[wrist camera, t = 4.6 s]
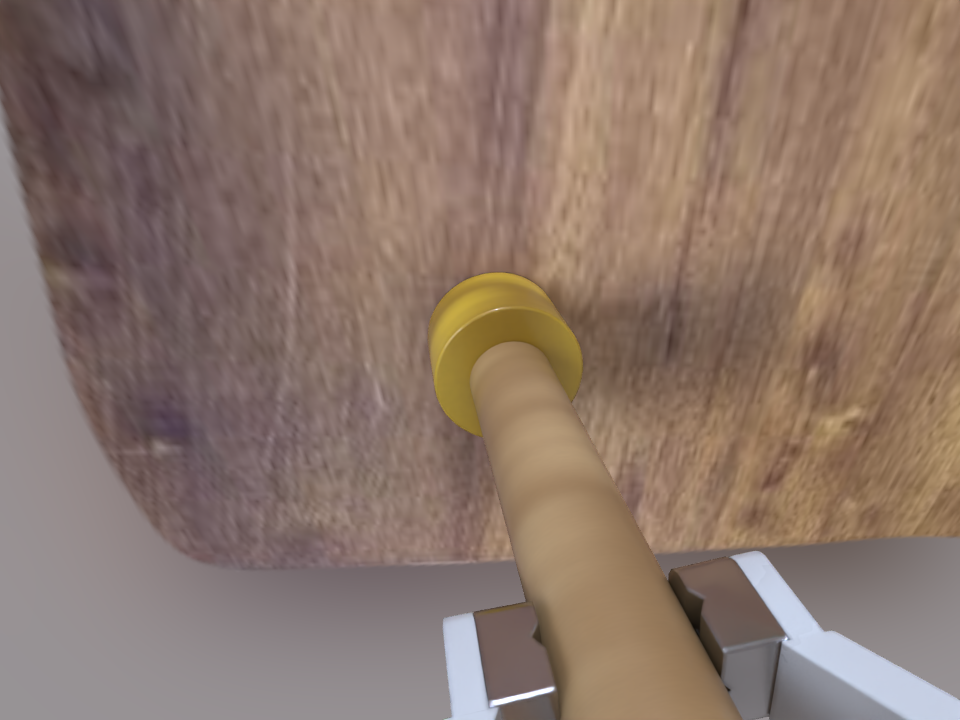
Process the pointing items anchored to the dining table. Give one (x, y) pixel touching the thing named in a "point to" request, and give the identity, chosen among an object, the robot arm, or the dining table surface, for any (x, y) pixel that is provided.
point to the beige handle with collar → (567, 511)
